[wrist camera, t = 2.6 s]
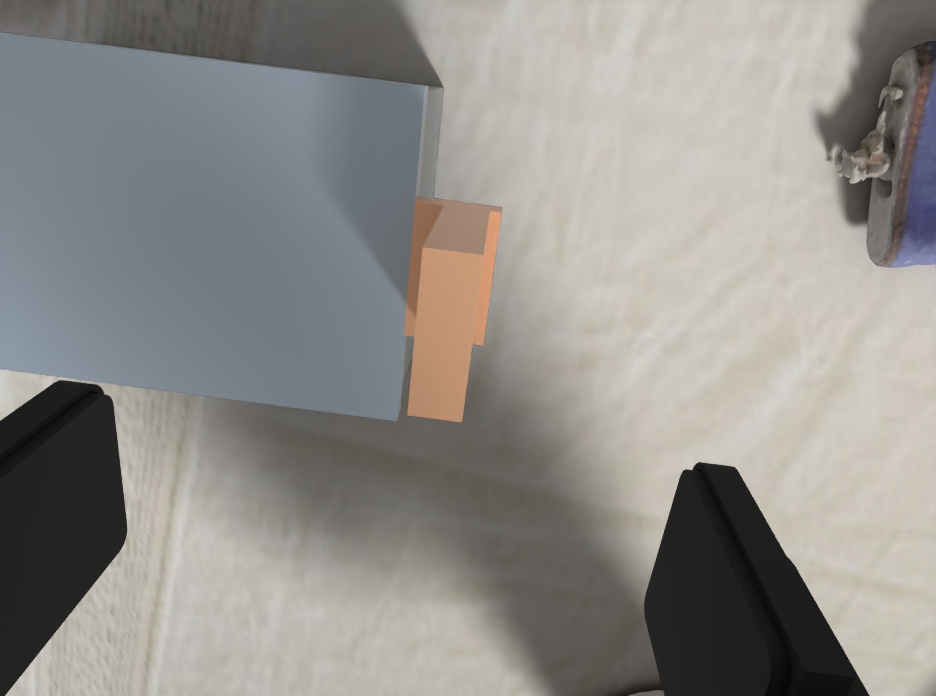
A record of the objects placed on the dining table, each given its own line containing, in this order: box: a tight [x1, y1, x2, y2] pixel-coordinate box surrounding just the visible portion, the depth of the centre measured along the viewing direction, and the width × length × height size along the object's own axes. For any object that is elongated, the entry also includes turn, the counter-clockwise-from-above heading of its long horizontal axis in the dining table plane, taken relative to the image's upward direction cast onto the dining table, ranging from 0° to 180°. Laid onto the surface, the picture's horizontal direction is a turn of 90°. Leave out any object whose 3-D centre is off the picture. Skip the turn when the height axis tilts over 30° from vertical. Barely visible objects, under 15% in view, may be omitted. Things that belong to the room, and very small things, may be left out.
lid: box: [0, 32, 502, 422], centre depth 22 cm, size 19×12×8 cm, turn 83°
